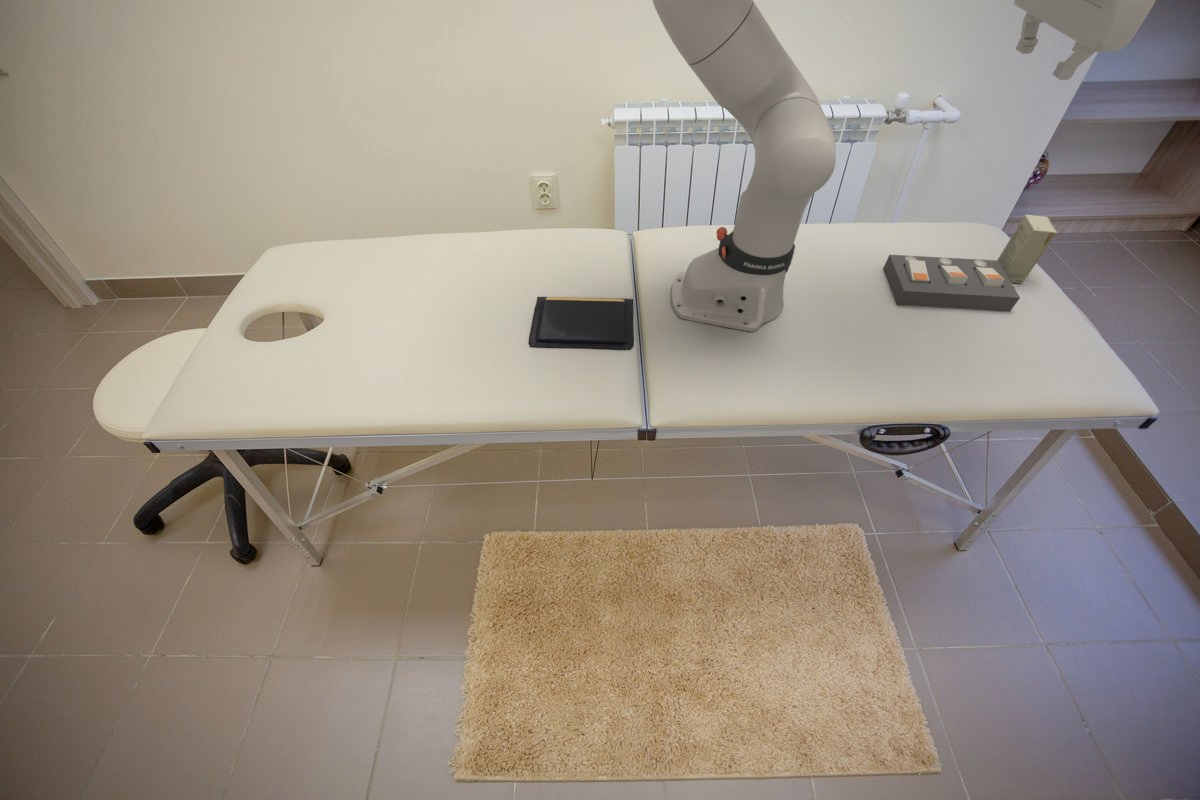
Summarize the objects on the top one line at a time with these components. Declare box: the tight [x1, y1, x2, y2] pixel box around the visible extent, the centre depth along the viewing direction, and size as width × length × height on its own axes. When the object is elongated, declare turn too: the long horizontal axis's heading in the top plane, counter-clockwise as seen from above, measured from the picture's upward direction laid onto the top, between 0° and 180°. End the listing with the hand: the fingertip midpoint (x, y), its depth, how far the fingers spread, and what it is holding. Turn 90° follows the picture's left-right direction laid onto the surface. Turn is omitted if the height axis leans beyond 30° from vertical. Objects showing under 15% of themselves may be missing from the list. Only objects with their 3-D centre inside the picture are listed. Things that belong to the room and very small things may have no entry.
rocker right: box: [975, 267, 1004, 287], centre depth 114 cm, size 3×5×2 cm, turn 175°
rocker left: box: [905, 260, 929, 283], centre depth 115 cm, size 3×5×2 cm, turn 175°
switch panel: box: [882, 254, 1021, 312], centre depth 116 cm, size 22×12×4 cm, turn 85°
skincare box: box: [997, 214, 1058, 284], centre depth 116 cm, size 6×4×12 cm
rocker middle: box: [940, 265, 968, 285], centre depth 115 cm, size 3×5×2 cm, turn 175°
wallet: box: [528, 296, 635, 351], centre depth 110 cm, size 20×2×15 cm
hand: (1041, 64), depth 79 cm, fingers open, 8 cm apart
